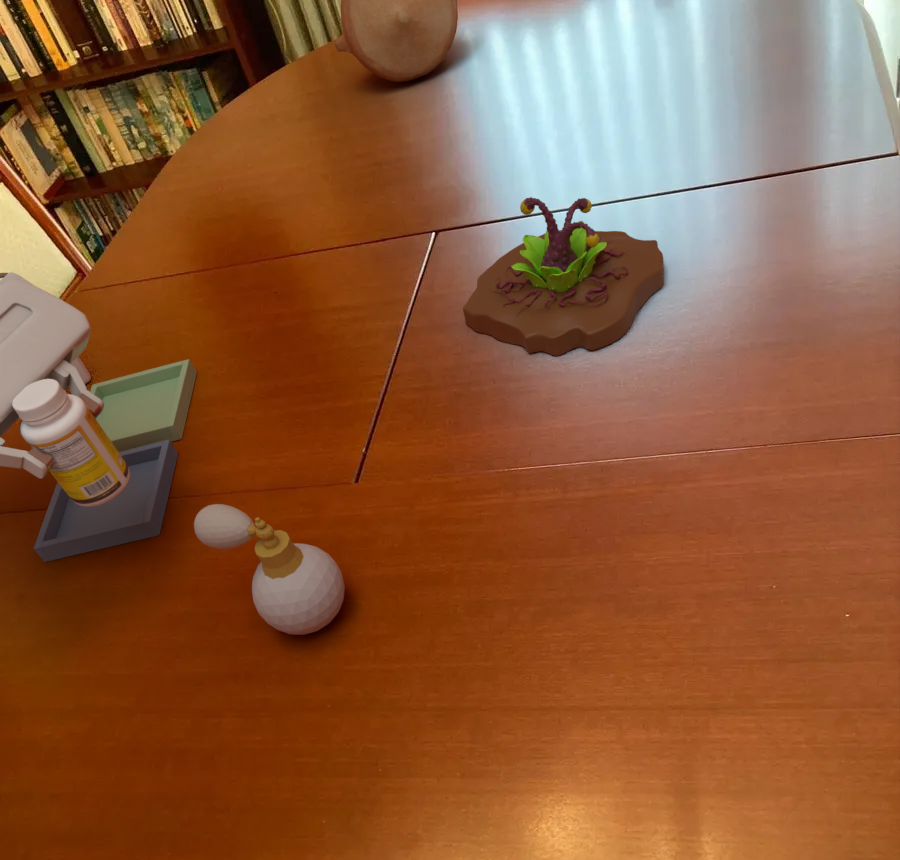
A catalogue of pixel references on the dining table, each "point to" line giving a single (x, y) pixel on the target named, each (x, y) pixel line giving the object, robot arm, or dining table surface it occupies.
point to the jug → (398, 35)
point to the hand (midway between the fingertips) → (74, 440)
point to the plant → (565, 286)
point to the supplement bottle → (71, 443)
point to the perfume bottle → (279, 570)
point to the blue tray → (112, 508)
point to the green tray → (146, 405)
